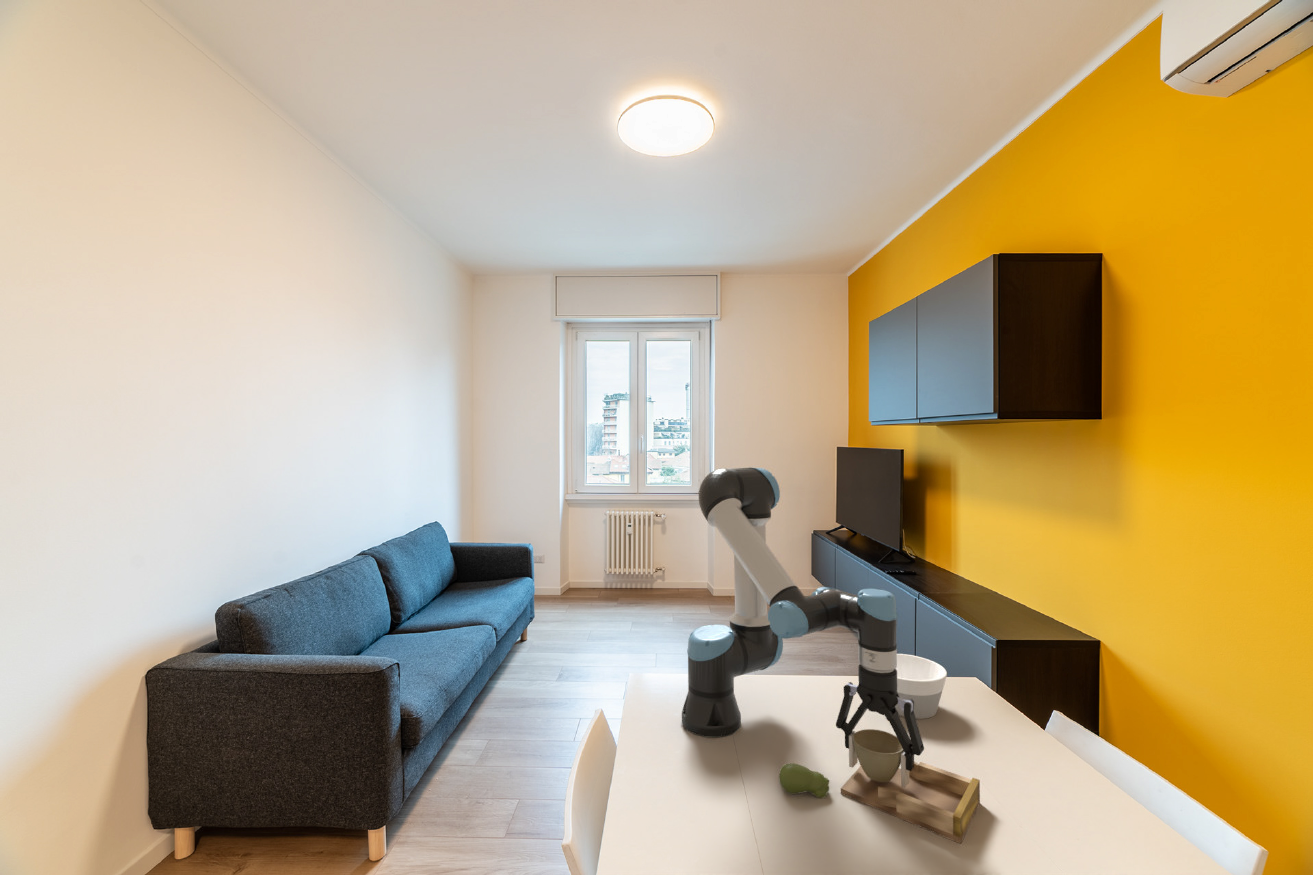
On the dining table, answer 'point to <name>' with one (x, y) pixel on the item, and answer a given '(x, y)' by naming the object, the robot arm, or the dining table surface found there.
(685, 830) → the dining table surface
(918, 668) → the bowl
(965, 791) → the slot board
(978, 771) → the dining table surface
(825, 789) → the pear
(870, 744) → the flower pot
